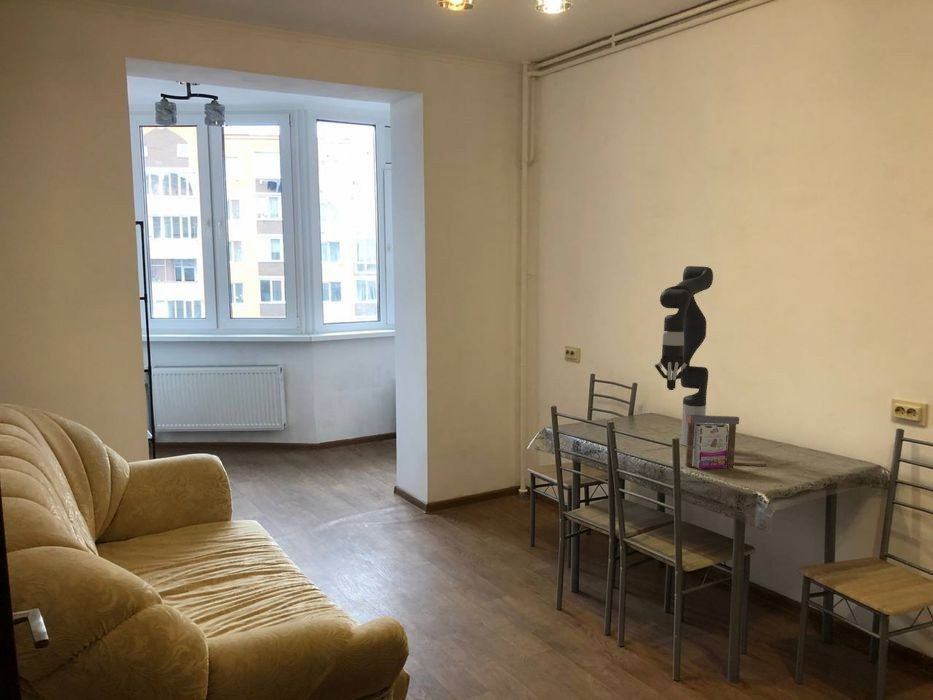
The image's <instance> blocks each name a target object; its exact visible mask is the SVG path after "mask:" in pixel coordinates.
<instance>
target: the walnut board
mask: <svg viewBox="0 0 933 700" xmlns="http://www.w3.org/2000/svg"><path fill="white" fill-rule="evenodd" d="M741 465H749V466H748V467H766V466H767V463H766V462H765V461H764V460H762V458H760V456H758V455H750V454H749V455H748V454H734V466H741ZM726 466H727V460H726Z"/></svg>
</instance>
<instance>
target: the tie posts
mask: <svg viewBox="0 0 933 700" xmlns="http://www.w3.org/2000/svg"><path fill="white" fill-rule="evenodd" d="M736 431H737V424H728V437H727V465H726V469H728V468H733V469H734V467H735V465H734V455H735V450H736V449H735V447H736V434H737V432H736ZM693 441H694V423H688V428H687V446H685V447H686V451H685V466H686V467H687V468H693V461H694V447H693Z"/></svg>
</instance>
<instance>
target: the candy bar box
mask: <svg viewBox="0 0 933 700" xmlns="http://www.w3.org/2000/svg"><path fill="white" fill-rule="evenodd" d="M728 432H729V424H714V423H705V424H695V439H694V447H693V467H695V468H697V469H698V470H713V469H714V470H715V469H716V470H717V469H727V467H726V466H727V465H726V460H727V449H728Z"/></svg>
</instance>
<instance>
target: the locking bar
mask: <svg viewBox="0 0 933 700" xmlns="http://www.w3.org/2000/svg"><path fill="white" fill-rule="evenodd" d="M685 422H686V423H705V424H707V423H714V424H726V425H729V424H736V425H739V424H740V417H739V416H736V415H735V416H731V415H729V416H728V415H706V414H705V415H685Z"/></svg>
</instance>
